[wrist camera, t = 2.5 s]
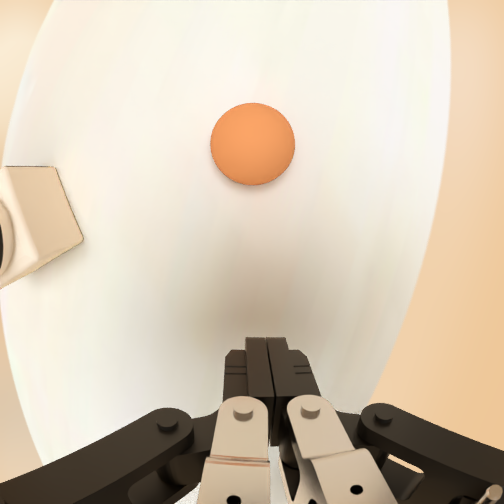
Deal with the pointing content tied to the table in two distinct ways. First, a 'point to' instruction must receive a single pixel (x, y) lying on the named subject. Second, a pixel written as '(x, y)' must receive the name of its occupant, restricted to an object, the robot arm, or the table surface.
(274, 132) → the ball
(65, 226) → the medicine bottle
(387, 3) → the table surface
